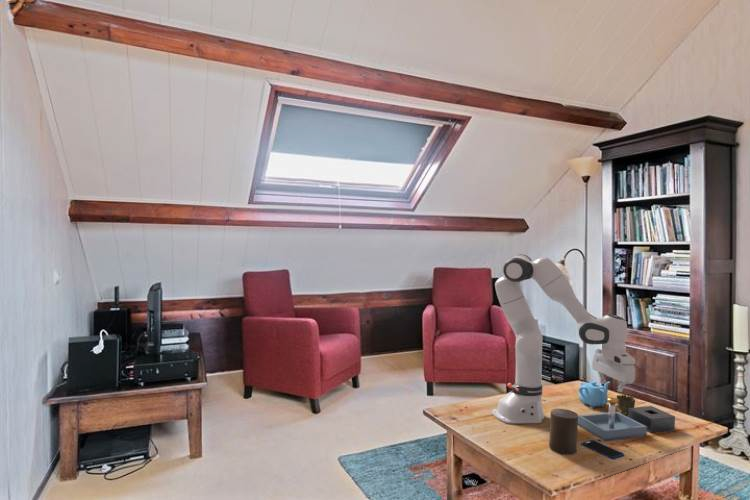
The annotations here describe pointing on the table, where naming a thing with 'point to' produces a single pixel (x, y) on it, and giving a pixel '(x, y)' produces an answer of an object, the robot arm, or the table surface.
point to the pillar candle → (563, 431)
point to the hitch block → (653, 419)
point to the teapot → (593, 394)
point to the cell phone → (603, 449)
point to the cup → (625, 403)
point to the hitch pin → (611, 411)
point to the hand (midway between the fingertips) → (610, 387)
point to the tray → (622, 426)
